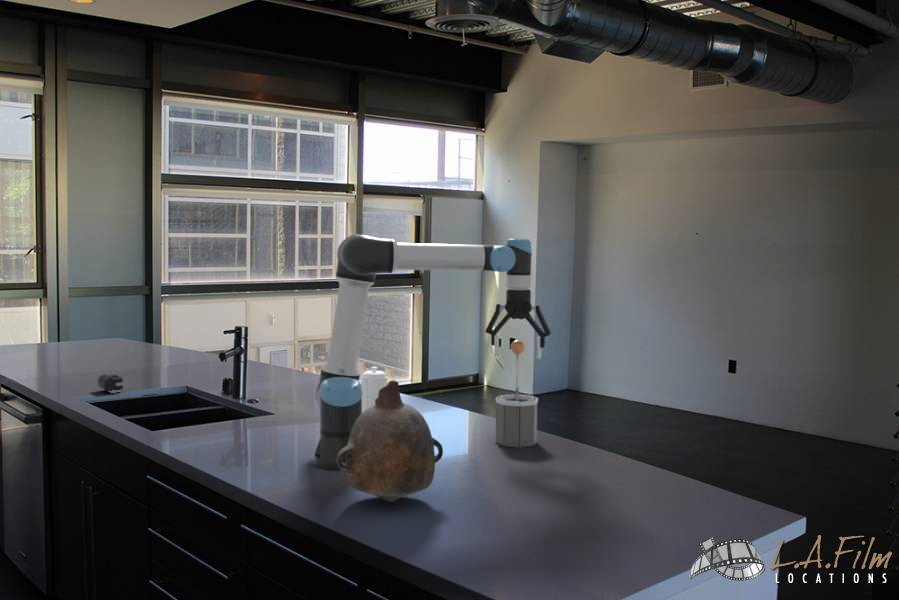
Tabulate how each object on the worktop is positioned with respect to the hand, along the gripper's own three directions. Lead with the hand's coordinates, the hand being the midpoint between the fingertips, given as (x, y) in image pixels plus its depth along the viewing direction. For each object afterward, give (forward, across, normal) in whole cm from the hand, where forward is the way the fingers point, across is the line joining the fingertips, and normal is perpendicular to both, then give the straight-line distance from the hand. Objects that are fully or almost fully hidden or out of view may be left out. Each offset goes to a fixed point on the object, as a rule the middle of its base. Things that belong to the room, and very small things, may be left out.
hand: (517, 357), depth 256 cm
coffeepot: (+27, +54, -13) cm, 62 cm away
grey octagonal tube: (+27, 0, -2) cm, 27 cm away
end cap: (+27, +175, -24) cm, 179 cm away
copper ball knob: (+16, 0, 0) cm, 16 cm away
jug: (+27, +15, +67) cm, 74 cm away
